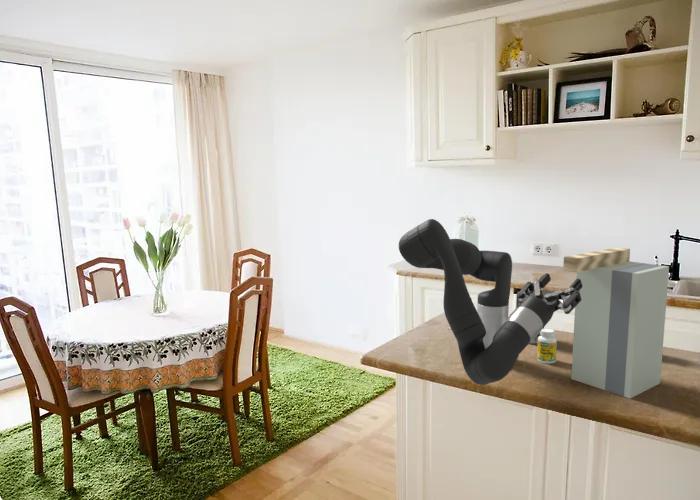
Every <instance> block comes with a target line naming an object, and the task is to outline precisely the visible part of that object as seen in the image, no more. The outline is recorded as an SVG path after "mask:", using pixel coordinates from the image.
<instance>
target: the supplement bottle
mask: <svg viewBox="0 0 700 500" xmlns="http://www.w3.org/2000/svg"><path fill="white" fill-rule="evenodd" d="M540 334H541V336H539V337H538V343H537V351H536V352H537V354H536V356H537V362H540V363H543V364H548V365H551V364H554V363H556V362H557V345H558V343H557V342H558V341H557V338H556V337H555V329H552V328H544V329H542V330H541V331H540Z"/></svg>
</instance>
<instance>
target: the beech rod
mask: <svg viewBox="0 0 700 500" xmlns="http://www.w3.org/2000/svg"><path fill="white" fill-rule="evenodd" d="M630 254H631V248H626V247H614V248H612V247H611V248H608V249H601V250H596V251H590V252H584V253H579V254H574V255H566V256H564V257H563V265H562V267H563V269H562V270H563V271H564V272H570V273H577V272H581V271H586V270H591V269H595V268H600V267H605V266H610V265H615V264H619V263H624V262H629V261H630V258H631V255H630Z"/></svg>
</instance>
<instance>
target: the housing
mask: <svg viewBox="0 0 700 500" xmlns="http://www.w3.org/2000/svg"><path fill="white" fill-rule="evenodd" d="M669 271H670V266H669V265H659V264H654V263H653V264H651V263H644V262H638V261H630V260H629V262H624V263H619V264H615V265H610V266H605V267H600V268H595V269H591V270H586V271H581V272H576V279H581V282H582V288H581V289H580V291H579V292H580V296H581V299H582V300H581V301H580V302H579V304H578V305H577V306H576V307H575V308H574V317H573V318H574V320H573V321H574V322H573V338H572V339H573V340H572V341H573V342H572V357H571V359H572V361H571V380H573V381H577V382H580V383H583V384H585V385H589V386H591V387H594V388H597V389H600V390H603V391H606V392H609V393H613V394H615V395H619V396H621V397H623V398H627V399H633V398H634V397H637V396H638V395H640V394H642V393H644V392H645V391H648V390H649V389H651V388H654V387H655V386H658V385H660V384H661V379H662V378H661V374H662V365H663V364H662V361H663V348H664V337H665V325H666V324H665V323H666V311H667V300H668V299H667V296H668V286H669V273H670V272H669Z"/></svg>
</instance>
